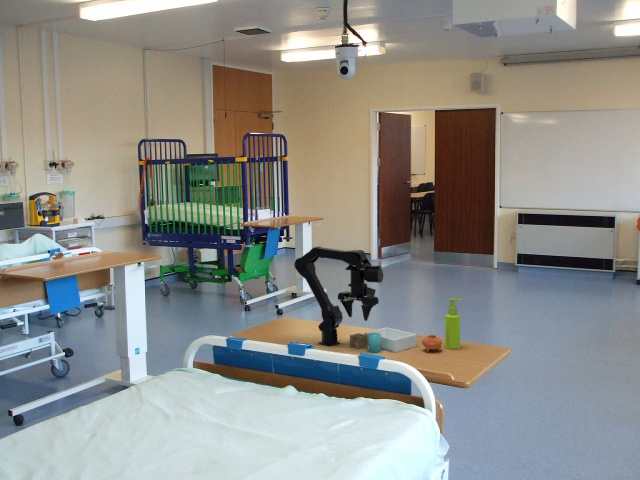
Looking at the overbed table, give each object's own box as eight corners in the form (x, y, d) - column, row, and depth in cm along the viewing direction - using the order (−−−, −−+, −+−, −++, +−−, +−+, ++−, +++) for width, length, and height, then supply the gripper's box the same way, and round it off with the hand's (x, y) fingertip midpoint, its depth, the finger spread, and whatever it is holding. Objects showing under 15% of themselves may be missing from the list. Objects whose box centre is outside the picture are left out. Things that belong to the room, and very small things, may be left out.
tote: (364, 344, 268) (364, 332, 268) (386, 338, 277) (386, 327, 276) (394, 352, 255) (394, 340, 255) (417, 346, 264) (416, 334, 263)
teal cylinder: (366, 351, 258) (365, 334, 257) (375, 349, 261) (374, 332, 260) (374, 353, 254) (374, 336, 253) (383, 351, 257) (383, 334, 256)
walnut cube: (349, 347, 265) (349, 335, 265) (358, 344, 268) (358, 333, 268) (358, 349, 261) (358, 337, 261) (367, 347, 264) (367, 335, 264)
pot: (443, 347, 260) (443, 332, 258) (440, 357, 253) (440, 341, 251) (423, 345, 262) (423, 330, 260) (420, 355, 256) (420, 339, 253)
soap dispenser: (462, 349, 257) (462, 300, 255) (445, 348, 259) (445, 299, 257) (462, 345, 263) (462, 297, 261) (445, 345, 264) (445, 297, 262)
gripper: (388, 281, 260) (388, 319, 262) (356, 276, 274) (356, 312, 276) (368, 284, 253) (368, 324, 255) (336, 279, 267) (337, 316, 269)
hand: (358, 319), depth 264 cm, fingers open, 9 cm apart
